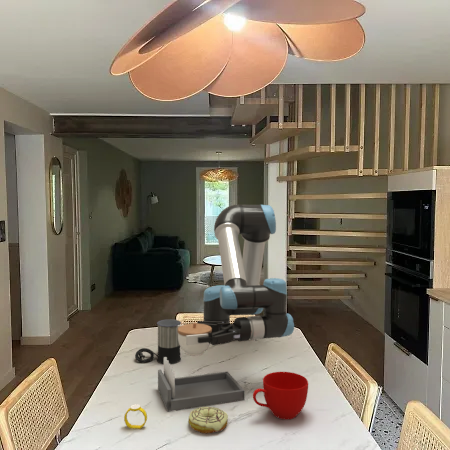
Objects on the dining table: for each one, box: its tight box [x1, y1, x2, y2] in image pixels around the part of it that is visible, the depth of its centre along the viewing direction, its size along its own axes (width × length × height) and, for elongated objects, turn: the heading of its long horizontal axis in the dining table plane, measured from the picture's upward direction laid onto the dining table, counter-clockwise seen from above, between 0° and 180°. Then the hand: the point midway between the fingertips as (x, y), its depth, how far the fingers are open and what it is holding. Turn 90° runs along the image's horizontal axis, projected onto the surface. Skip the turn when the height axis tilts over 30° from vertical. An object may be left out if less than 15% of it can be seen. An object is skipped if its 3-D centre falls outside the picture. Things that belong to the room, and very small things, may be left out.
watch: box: [123, 403, 148, 430], centre depth 119 cm, size 6×3×6 cm, turn 86°
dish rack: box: [157, 357, 246, 412], centre depth 140 cm, size 16×24×11 cm, turn 109°
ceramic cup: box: [252, 371, 309, 420], centre depth 126 cm, size 13×17×10 cm
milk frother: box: [134, 318, 182, 365], centre depth 169 cm, size 14×16×15 cm
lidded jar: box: [178, 322, 212, 357], centre depth 138 cm, size 11×11×9 cm
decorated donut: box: [187, 406, 229, 435], centre depth 121 cm, size 10×11×4 cm
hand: (182, 334), depth 137 cm, fingers closed on lidded jar, 11 cm apart
